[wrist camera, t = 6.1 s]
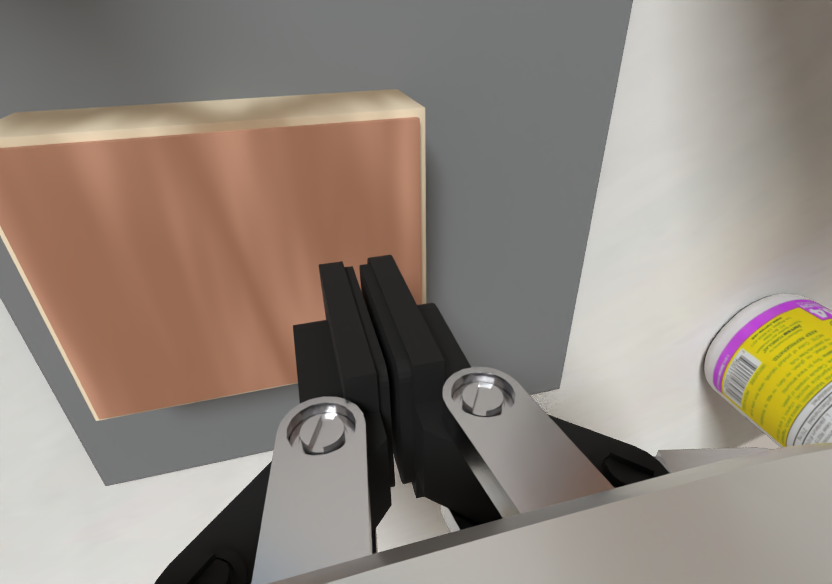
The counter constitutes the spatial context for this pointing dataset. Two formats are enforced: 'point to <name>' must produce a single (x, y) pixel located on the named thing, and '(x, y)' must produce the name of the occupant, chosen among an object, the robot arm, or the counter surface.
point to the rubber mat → (444, 157)
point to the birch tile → (204, 232)
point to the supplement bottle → (777, 368)
